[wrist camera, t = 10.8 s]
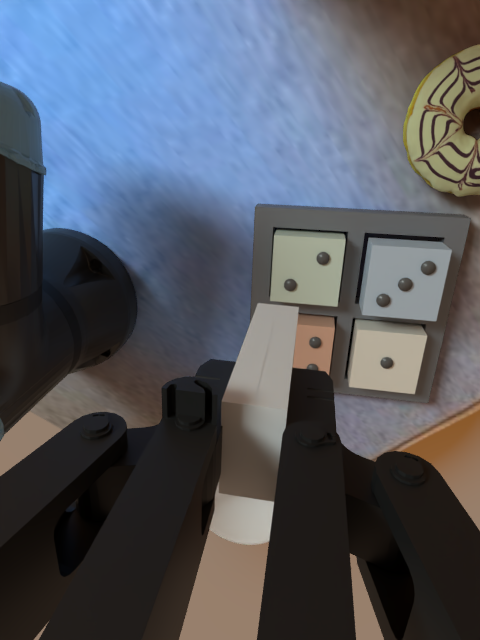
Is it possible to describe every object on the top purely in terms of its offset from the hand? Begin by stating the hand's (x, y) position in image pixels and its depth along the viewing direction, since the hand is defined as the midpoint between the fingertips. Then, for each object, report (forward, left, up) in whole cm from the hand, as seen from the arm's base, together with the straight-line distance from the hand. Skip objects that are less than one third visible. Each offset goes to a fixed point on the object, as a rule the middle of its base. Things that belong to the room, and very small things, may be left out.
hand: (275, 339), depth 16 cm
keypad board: (+5, -8, -26) cm, 28 cm away
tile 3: (+9, -4, -24) cm, 26 cm away
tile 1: (+9, -12, -25) cm, 29 cm away
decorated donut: (+13, +8, -27) cm, 31 cm away
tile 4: (+1, -12, -25) cm, 28 cm away
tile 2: (+1, -4, -25) cm, 25 cm away
